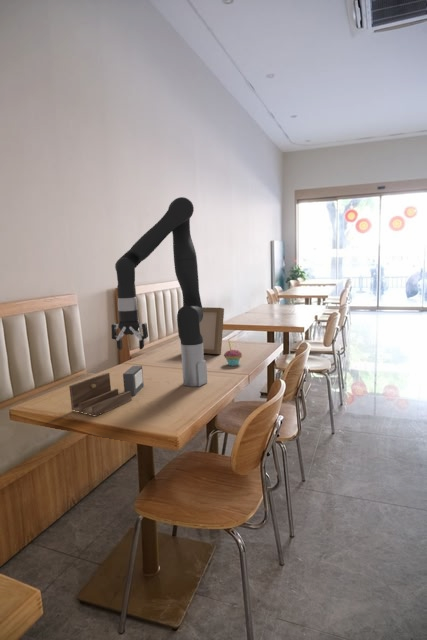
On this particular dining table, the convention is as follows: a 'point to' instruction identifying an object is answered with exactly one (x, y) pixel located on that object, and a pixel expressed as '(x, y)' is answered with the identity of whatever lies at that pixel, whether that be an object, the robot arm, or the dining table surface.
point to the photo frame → (212, 329)
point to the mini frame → (133, 380)
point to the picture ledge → (96, 395)
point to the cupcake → (233, 356)
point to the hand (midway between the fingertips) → (130, 349)
